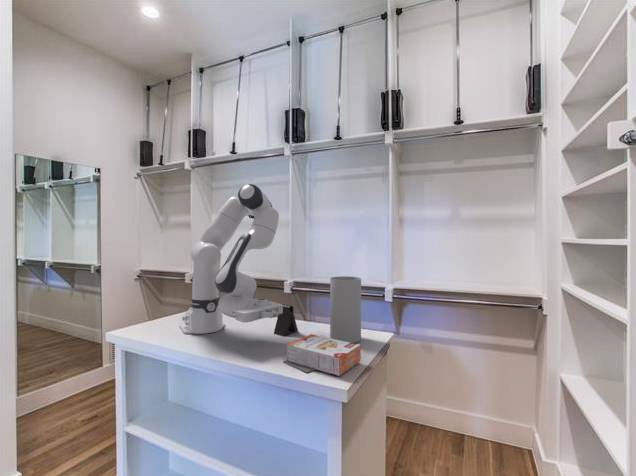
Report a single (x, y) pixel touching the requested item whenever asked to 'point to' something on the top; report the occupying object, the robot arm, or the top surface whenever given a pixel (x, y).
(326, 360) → the cracker box
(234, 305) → the robot arm
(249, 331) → the top surface
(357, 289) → the cylinder vase
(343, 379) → the top surface
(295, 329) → the phone stand
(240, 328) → the top surface
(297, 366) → the mat
